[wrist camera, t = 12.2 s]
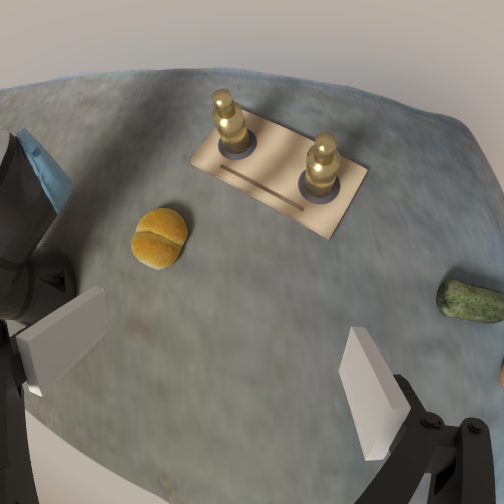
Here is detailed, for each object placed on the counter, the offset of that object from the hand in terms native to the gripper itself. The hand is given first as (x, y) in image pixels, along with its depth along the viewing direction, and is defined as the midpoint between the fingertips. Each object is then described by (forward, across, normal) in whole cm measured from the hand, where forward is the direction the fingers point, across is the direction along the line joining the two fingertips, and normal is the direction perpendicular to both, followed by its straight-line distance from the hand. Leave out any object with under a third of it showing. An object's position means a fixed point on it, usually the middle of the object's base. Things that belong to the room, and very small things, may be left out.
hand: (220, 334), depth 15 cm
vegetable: (+23, +33, -4) cm, 40 cm away
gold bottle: (+34, -5, +14) cm, 37 cm away
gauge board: (+33, +2, +11) cm, 35 cm away
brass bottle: (+30, +8, +9) cm, 32 cm away
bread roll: (+30, -14, -2) cm, 33 cm away
